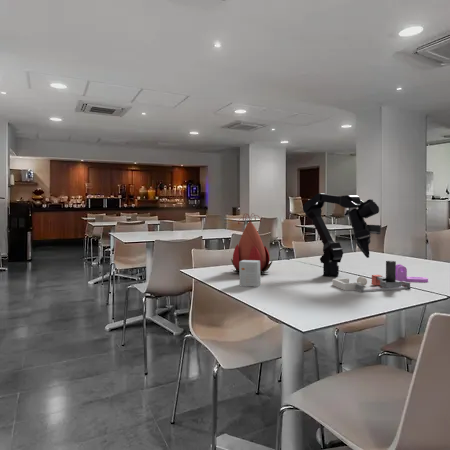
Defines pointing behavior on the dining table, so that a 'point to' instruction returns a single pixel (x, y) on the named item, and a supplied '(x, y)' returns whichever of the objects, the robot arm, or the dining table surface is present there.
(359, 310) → the dining table surface
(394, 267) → the post on base plate
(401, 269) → the bracket
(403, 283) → the rail
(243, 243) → the decorative flower
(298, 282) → the dining table surface
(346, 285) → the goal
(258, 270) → the small box
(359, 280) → the ball
